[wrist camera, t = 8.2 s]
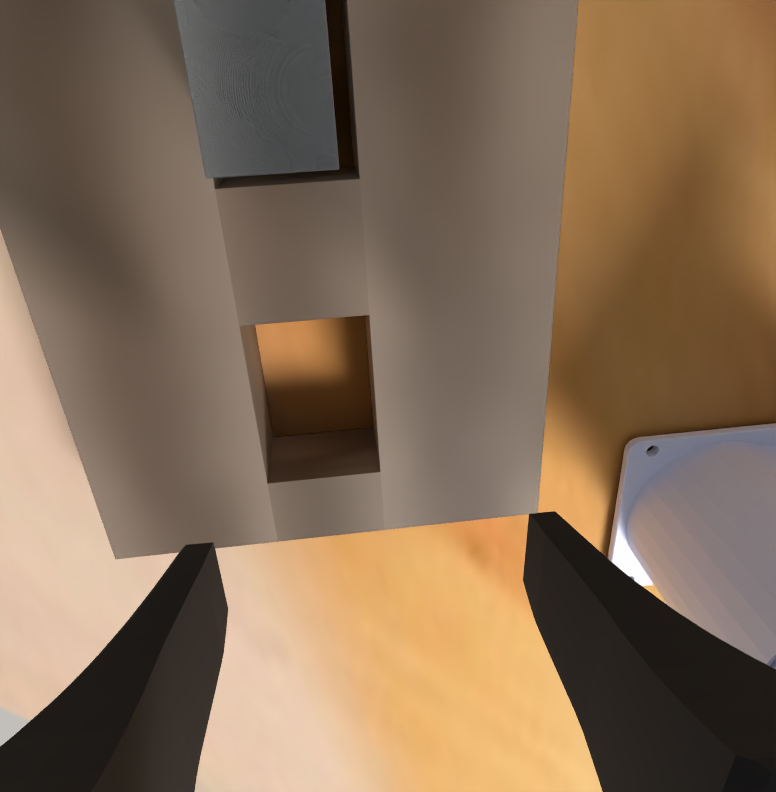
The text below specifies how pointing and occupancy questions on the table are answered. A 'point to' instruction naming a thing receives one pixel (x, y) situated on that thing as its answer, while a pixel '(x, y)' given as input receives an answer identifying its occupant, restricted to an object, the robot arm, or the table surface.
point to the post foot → (291, 268)
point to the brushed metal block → (259, 85)
